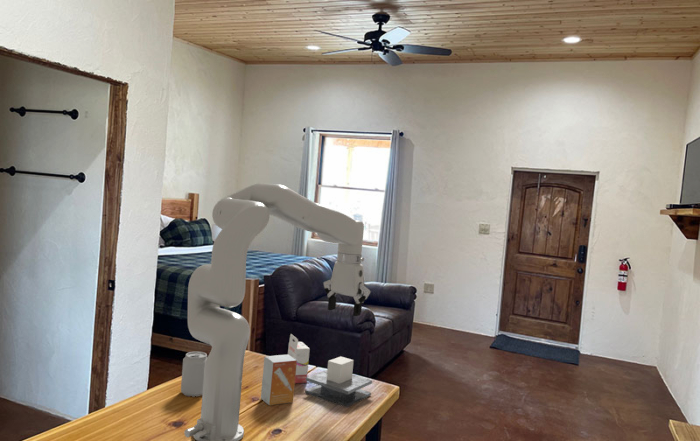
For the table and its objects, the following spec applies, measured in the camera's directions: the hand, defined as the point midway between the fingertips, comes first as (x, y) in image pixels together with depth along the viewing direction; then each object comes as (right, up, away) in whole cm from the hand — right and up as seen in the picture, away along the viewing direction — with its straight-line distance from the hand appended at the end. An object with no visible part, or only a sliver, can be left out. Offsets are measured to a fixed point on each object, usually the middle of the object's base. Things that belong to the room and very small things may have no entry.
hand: (344, 312), depth 173 cm
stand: (-2, -26, +1) cm, 26 cm away
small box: (-20, -25, -8) cm, 33 cm away
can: (-45, -23, -8) cm, 52 cm away
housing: (-1, -21, +1) cm, 21 cm away
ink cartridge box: (-16, -25, +12) cm, 32 cm away
